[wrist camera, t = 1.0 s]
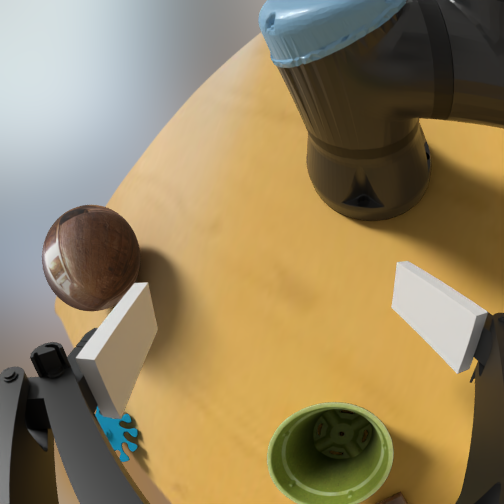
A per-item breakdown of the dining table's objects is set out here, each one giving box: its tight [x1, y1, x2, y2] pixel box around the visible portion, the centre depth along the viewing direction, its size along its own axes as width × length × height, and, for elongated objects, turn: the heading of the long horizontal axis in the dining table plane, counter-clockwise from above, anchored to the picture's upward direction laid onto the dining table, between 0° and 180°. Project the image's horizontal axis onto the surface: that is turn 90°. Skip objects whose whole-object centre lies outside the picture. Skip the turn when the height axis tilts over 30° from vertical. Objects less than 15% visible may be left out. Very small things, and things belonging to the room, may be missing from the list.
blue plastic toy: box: [95, 406, 138, 462], centre depth 31 cm, size 11×6×10 cm
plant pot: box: [267, 402, 394, 504], centre depth 19 cm, size 9×9×9 cm
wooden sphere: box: [42, 205, 140, 311], centre depth 36 cm, size 15×15×15 cm
